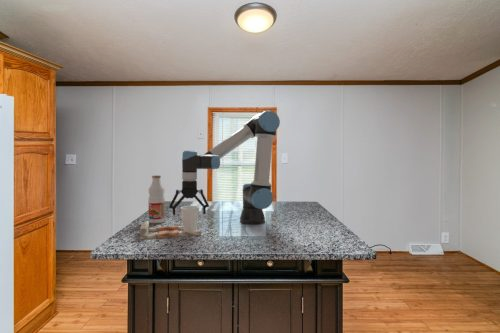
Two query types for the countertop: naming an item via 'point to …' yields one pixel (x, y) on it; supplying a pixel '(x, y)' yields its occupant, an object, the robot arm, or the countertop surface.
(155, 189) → the fruit juice
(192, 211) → the foam cup
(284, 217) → the countertop surface
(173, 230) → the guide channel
